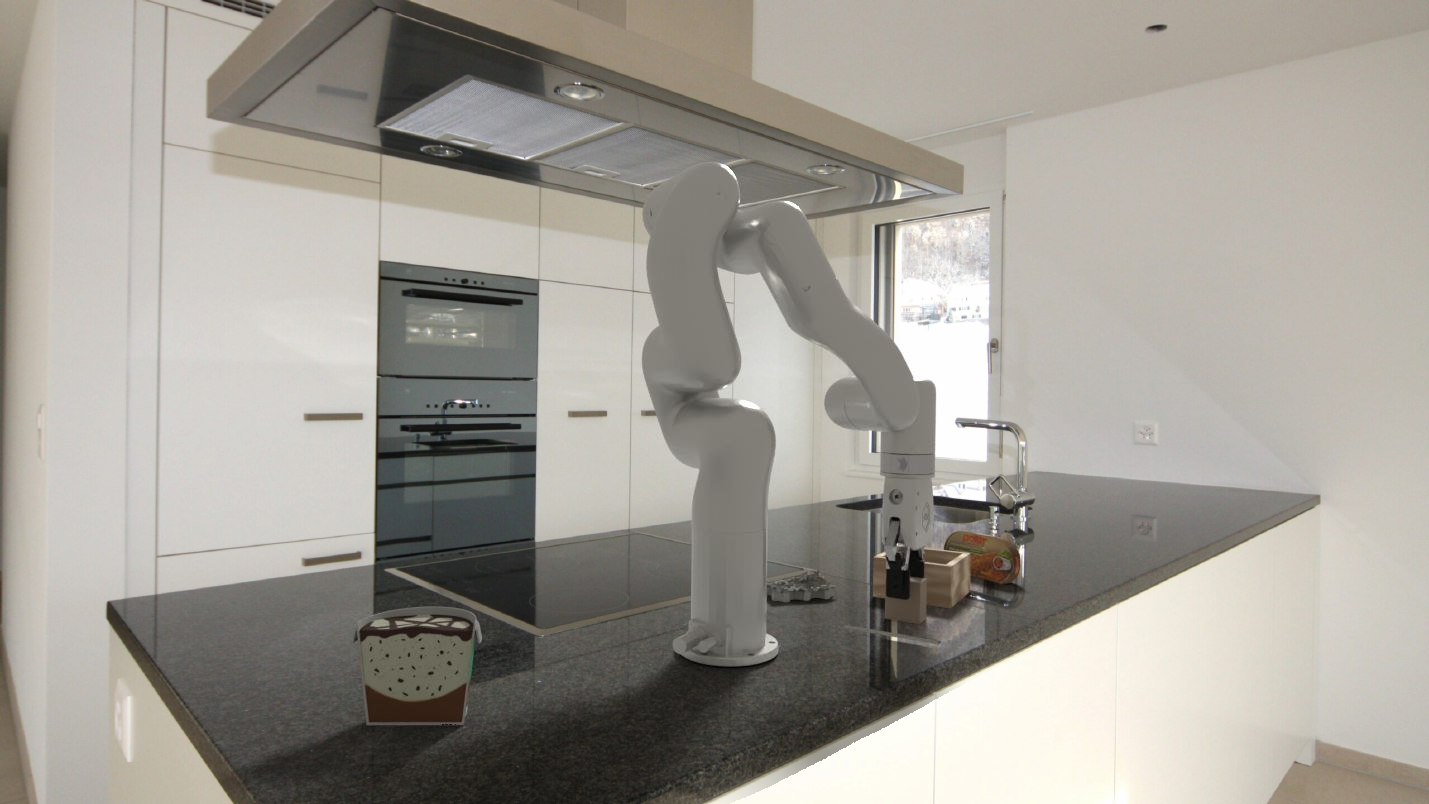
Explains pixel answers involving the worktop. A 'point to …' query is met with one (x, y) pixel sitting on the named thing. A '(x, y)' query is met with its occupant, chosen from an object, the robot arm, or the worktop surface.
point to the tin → (987, 555)
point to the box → (934, 576)
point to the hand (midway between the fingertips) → (905, 591)
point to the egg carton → (801, 588)
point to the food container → (417, 665)
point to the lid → (905, 610)
